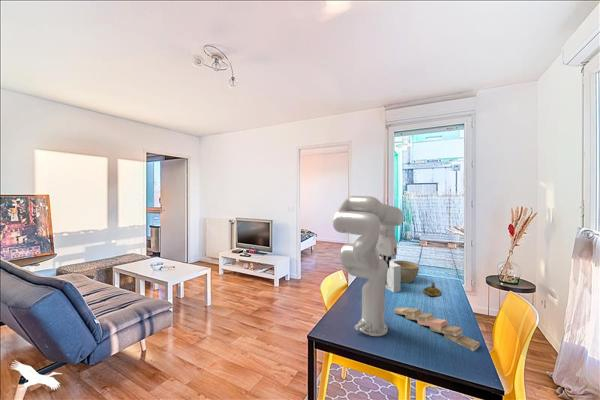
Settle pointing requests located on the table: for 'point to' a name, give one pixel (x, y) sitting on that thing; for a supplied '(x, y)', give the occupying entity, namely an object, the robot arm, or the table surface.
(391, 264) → the skincare box
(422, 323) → the tile
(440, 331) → the tile
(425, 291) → the seal
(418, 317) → the tile
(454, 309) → the table surface
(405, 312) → the head tile
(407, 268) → the planter bowl
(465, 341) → the tile
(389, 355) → the table surface
